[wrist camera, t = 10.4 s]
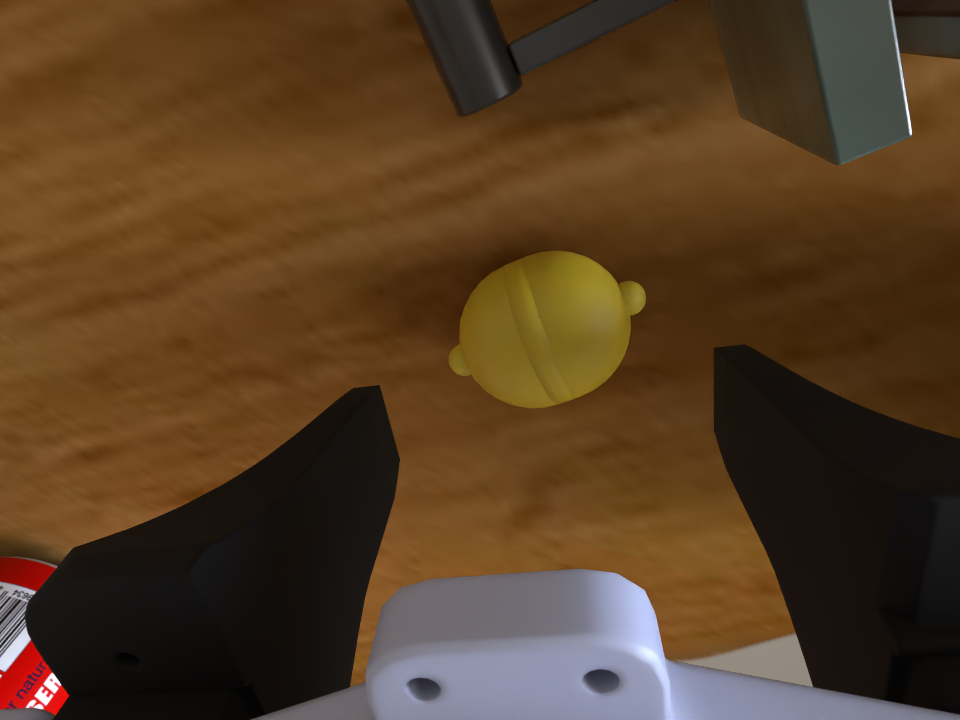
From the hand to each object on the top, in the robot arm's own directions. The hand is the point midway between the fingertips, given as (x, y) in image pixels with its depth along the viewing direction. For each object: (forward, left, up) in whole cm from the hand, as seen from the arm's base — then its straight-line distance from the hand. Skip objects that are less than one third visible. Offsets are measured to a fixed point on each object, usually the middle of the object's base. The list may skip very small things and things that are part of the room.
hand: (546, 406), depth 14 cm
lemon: (0, 0, -6) cm, 6 cm away
